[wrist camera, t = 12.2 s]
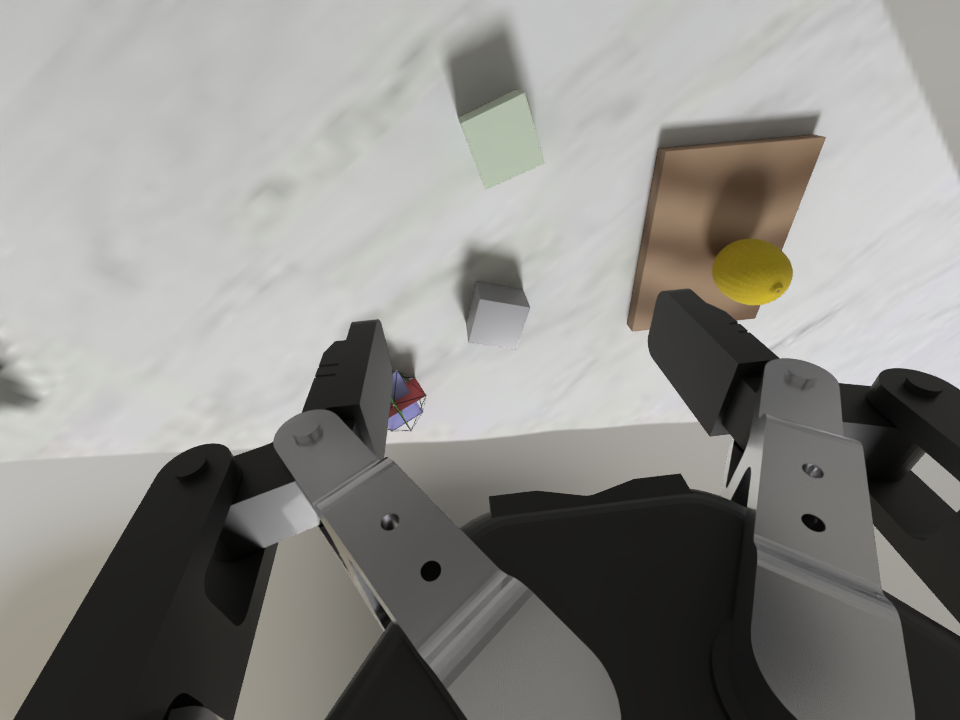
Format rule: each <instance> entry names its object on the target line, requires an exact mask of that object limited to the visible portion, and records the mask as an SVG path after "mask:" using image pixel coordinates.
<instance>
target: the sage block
mask: <svg viewBox="0 0 960 720" xmlns="http://www.w3.org/2000/svg"><path fill="white" fill-rule="evenodd" d="M458 119H459V122H460V124H461V127H462V130H463V132H464V135H465V137H466V140H467V143H468V145H469V148H470V151H471V153H472V156H473V158H474V161H475V164H476V166H477V169H478V172H479V174H480V177H481V179H482V182H483V184H484V187H485V190H487V189H489V188H491V187H493V186H496V185H498V184H500V183H502V182H504V181H507V180H509V179H511V178H513V177H515V176H518V175H520V174H522V173H524V172H527V171H529V170H531V169H533V168H535V167H538V166H540V165H542V164H544V163H545V162H544V158H543V155H542V151H541V148H540V144H539V141H538V137H537V134H536V130H535V126H534V123H533V119H532V116H531V112H530V109H529V105H528V102H527V98H526V95H525V92H522V91H519V90H517V89H516V90H514V91H512V92H510V93H508V94H505V95H503V96H501V97H499V98H497V99H495V100H493V101H491V102H489V103H487V104H485V105H483V106H481V107H479V108H477V109H475V110H473V111H471V112H469V113H466V114H464V115H462V116H460V117H458Z"/></svg>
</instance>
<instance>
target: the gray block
mask: <svg viewBox="0 0 960 720" xmlns="http://www.w3.org/2000/svg"><path fill="white" fill-rule="evenodd" d="M529 310H530V306H529V303H528V301H527V298H526V296H525V293H524V291H523V290H522V289H517V288H511V287H506V286H500V285H495V284H489V283H484V282H478V281H476V285H475V289H474V293H473V297H472V301H471V305H470V309H469V313H468V317H467V321H466V327H467V335H468V343H473V344H480V345H487V346H494V347H501V348H507V349H514V350H516V347H517V344H518V342H519V339H520V336H521V333H522V330H523V327H524V324H525V321H526V318H527V316H528V313H529Z"/></svg>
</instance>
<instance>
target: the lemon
mask: <svg viewBox="0 0 960 720" xmlns="http://www.w3.org/2000/svg"><path fill="white" fill-rule="evenodd" d="M712 276H713V280H714V282H715V284H716V286H717V287H718V288H719V290H720V291H721V292H722V293H723V294H724V295H726V296H727V297H729V298H730V299H732V300H734V301H736V302H739V303H742V304H746V305H762V304H766V303H769V302H772V301H774V300H776V299H777V298H779V297H780V296H781V295H782V294H783V293H784V292H785V291H786V290H787V289H788V287H789V285H790V283H791V280H792V276H793V269H792V266H791V263H790V261H789V259H788V258H787V256H786V255H785V254H784V253H783V252H782V251H781V250H780V249H779V248H778V247H776V246H775V245H773V244H771V243H769V242H767V241H764V240H760V239H752V238H749V239H741V240H738V241H735V242H733V243H731V244H729V245H727V246H726V247H725V248H723V249H722V250H721V251H720V252H719V254H718V255H717V256H716V258H715V260H714V263H713V266H712Z"/></svg>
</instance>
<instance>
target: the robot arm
mask: <svg viewBox="0 0 960 720" xmlns="http://www.w3.org/2000/svg"><path fill="white" fill-rule="evenodd" d="M648 348H649V352H650V355H651V357H652V358H653V360H654V361H655V362H656V364H657V365H658V366H659V368H660V369H661V370H662V372H663V373H664V375H665V376H666V377H667V379H668V380H669V381H670V383H671V384H672V386H673V387H674V388H675V390H676V391H677V392H678V394H679V395H680V396H681V398H682V399H683V401H684V402H685V403H686V405H687V406H688V407H689V409H690V410H691V411H692V413H693V414H694V416H695V417H696V418H697V420H698V421H699V422H700V424H701V425H702V427H703V428H704V429H705V431H706V432H707V433H708V435H709V436H718V435H727V434H730V435H731V436H732V437H733V440H732V442H731V444H730V447H729V451H728V456H727V461H726V467H725V472H724V478H723V483H722V488H721V493H720V496H718V495H715V494H712V493H708V492H704V491H699V490H695V489H689V487H688V485H687V484H686V482H685V480H684V479H683V477H682V475H681V474H673V475H665V476H656V477H648V478H640V479H633V480H631V481H628V482H625V483H623V484H620V485H617V486H615V487H612V488H610V489H607V490H605V491H602V492H599V493H597V494H594V495H590V496H581V495H572V494H563V493H562V494H561V493H553V492H544V491H530V492H522V493H514V494H506V495H498V496H490V497H489V504H490V512H487V513H485V514H482V515H480V516H478V517H476V518H474V519H473V520H471V521H469V522H468V523H466V524H465V525H463V526H462V527H461V528H459V527H458V526H457V525H456V524H455V523H454V522H453V521H452V520H451V519H450V518H449V517H448V516H447V515H446V514H445V513H444V512H443V511H442V510H441V509H440V508H439V507H438V506H437V505H436V504H435V503H434V502H433V501H432V500H431V499H430V498H429V497H428V496H427V495H426V494H425V493H424V491H423V490H422V489H421V488H420V487H418V485H417V484H416V483H415V482H414V481H413V480H412V479H411V478H410V477H408V475H407V474H406V473H405V472H404V471H403V470H402V469H401V468H400V467H399V466H398V465H397V464H396V463H395V462H394V461H393V460H392V459H390V458H388V457H386V458H384V453H385V444H386V436H387V428H388V419H389V411H390V403H391V395H392V386H393V374H392V366H391V361H390V357H389V353H388V349H387V345H386V341H385V337H384V332H383V328H382V325H381V322H380V320H379V319H377V320H367V321H358V322H352V323H351V326H350V329H349V332H348V336H347V339H346V340H344V341H335V342H334V343H333V344H332V345H331V346H330V347H329V348H328V349H327V350H326V351H325V352H324V353H323V356H322V359H321V362H320V364H319V368H318V370H317V372H316V375H315V376H316V378H314V381H313V383H312V386H311V389H310V391H309V394H308V397H307V400H306V402H305V405H304V408H303V411H302V413H300V414H298V415H296V416H294V417H292V418H291V419H289V420H288V421H286V422H285V423H284V424H283V425H282V426H281V427H280V428H279V429H278V431H277V433H276V434H275V437H274V441H273V442H272V443H270V444H267V445H265V446H262V447H259V448H256V449H253V450H251V451H248V452H245V453H242V454H239V455H236V456H233V455H232V453H231V452H230V450H229V449H228V448H227V447H226V446H224V445H221V444H204V445H200V446H197V447H194V448H191V449H189V450H187V451H185V452H183V453H181V454H179V455H178V456H176V457H175V458H173V459H172V460H171V461H169V462H168V463H167V464H166V465H165V466H164V467H163V468H162V469H161V470H160V472H159V473H158V474H157V476H156V478H155V479H154V481H153V483H152V484H151V487H150V488H149V489H148V491H147V493H146V495H145V496H144V498H143V500H142V501H141V503H140V505H139V507H138V508H137V510H136V512H135V513H134V515H133V517H132V518H131V520H130V522H129V524H128V525H127V527H126V529H125V530H124V532H123V534H122V536H121V537H120V539H119V541H118V542H117V544H116V546H115V547H114V549H113V551H112V552H111V554H110V556H109V558H108V559H107V561H106V563H105V565H104V566H103V568H102V570H101V571H100V573H99V575H98V576H97V578H96V580H95V582H94V583H93V585H92V587H91V588H90V590H89V592H88V594H87V595H86V597H85V599H84V600H83V602H82V604H81V605H80V607H79V609H78V610H77V612H76V614H75V616H74V617H73V619H72V621H71V622H70V624H69V626H68V628H67V629H66V631H65V633H64V634H63V636H62V638H61V639H60V641H59V643H58V644H57V646H56V648H55V650H54V651H53V653H52V655H51V656H50V658H49V660H48V662H47V663H46V665H45V667H44V668H43V670H42V672H41V673H40V675H39V677H38V679H37V680H36V682H35V684H34V685H33V687H32V689H31V690H30V692H29V694H28V696H27V697H26V699H25V701H24V702H23V704H22V706H21V707H20V709H19V711H18V713H17V714H16V716H15V718H14V719H13V720H233V719H234V715H235V711H236V707H237V703H238V699H239V695H240V691H241V687H242V683H243V680H244V676H245V671H246V667H247V664H248V660H249V656H250V652H251V648H252V644H253V640H254V636H255V632H256V628H257V624H258V620H259V617H260V613H261V609H262V604H263V600H264V597H265V593H266V589H267V585H268V581H269V577H270V573H271V569H272V565H273V561H274V557H275V553H276V550H277V546H278V542H279V541H282V540H284V539H286V538H289V537H291V536H294V535H296V534H298V533H301V532H303V531H306V530H308V529H310V528H313V527H315V526H317V527H318V529H319V531H320V532H321V533H322V535H323V537H324V538H325V540H326V541H327V542H328V544H329V545H330V547H331V549H332V550H333V552H334V553H335V555H336V556H337V558H338V559H339V561H340V562H341V564H342V565H343V567H344V569H345V570H346V572H347V573H348V575H349V576H350V578H351V579H352V581H353V582H354V584H355V586H356V587H357V589H358V590H359V592H360V594H361V596H362V597H363V599H364V601H365V602H366V604H367V606H368V607H369V609H370V610H371V612H372V614H373V615H374V617H375V618H376V620H377V621H378V623H379V625H380V626H381V627H382V629H383V631H384V632H383V634H382V635H381V637H380V638H379V640H378V641H377V643H376V644H375V646H374V647H373V649H372V650H371V652H370V653H369V654H368V656H367V657H366V659H365V660H364V662H363V663H362V665H361V666H360V668H359V669H358V671H357V672H356V674H355V675H354V677H353V678H352V680H351V681H350V683H349V684H348V686H347V687H346V689H345V690H344V692H343V693H342V694H341V696H340V697H339V699H338V700H337V702H336V703H335V705H334V706H333V708H332V709H331V711H330V712H329V714H328V715H327V717H326V718H325V720H960V636H958V635H957V634H955V633H953V632H952V631H950V630H948V629H947V628H945V627H943V626H942V625H940V624H938V623H937V622H935V621H934V620H932V619H930V618H928V617H927V616H925V615H924V614H922V613H920V612H918V611H917V610H915V609H914V608H912V607H910V606H909V605H907V604H905V603H903V602H902V601H900V600H898V599H897V598H895V597H894V596H892V595H890V594H889V593H887V592H885V591H884V590H882V588H881V581H880V574H879V566H878V558H877V551H876V543H875V536H874V528H873V524H874V526H875V527H876V528H877V529H878V530H879V531H880V533H881V534H882V535H883V536H884V537H885V538H886V539H887V540H888V542H889V543H890V544H891V545H892V546H893V547H894V549H895V550H896V551H897V552H898V553H899V554H900V555H901V557H902V558H903V559H904V560H905V561H906V562H907V563H908V564H909V566H910V567H911V568H912V569H913V570H914V571H915V573H916V574H917V575H918V576H919V577H920V578H921V579H922V581H923V582H924V583H925V584H926V585H927V586H928V588H929V589H930V590H931V591H932V592H933V593H934V594H935V596H936V597H937V598H938V599H939V600H940V601H941V602H942V603H943V605H944V606H945V607H946V608H947V609H948V610H949V612H950V613H951V614H952V615H953V616H954V617H955V618H956V619H957V621H958V622H959V623H960V510H959V511H958V512H957V513H956V512H955V511H954V510H953V509H952V508H951V507H950V506H949V505H948V504H947V503H946V502H944V501H943V500H942V499H941V498H940V497H939V496H938V495H937V494H936V493H935V492H934V491H932V489H930V488H929V487H928V486H927V485H926V484H925V483H924V482H923V481H922V480H921V479H920V478H919V477H918V476H917V475H915V474H914V473H913V472H912V471H911V469H912V467H913V466H914V465H915V464H916V463H917V462H918V461H919V459H920V458H921V457H922V456H923V455H924V454H925V453H927V454H929V455H930V456H931V457H932V458H933V459H934V460H936V461H937V462H938V463H939V464H940V465H941V466H943V467H944V468H945V469H946V470H947V471H948V472H949V473H951V474H952V475H953V476H954V477H955V478H956V479H957V480H959V482H960V390H959V389H958V388H956V387H955V386H953V385H951V384H950V383H948V382H946V381H944V380H942V379H940V378H938V377H935V376H933V375H930V374H927V373H924V372H920V371H916V370H910V369H902V368H892V369H887V370H884V371H882V372H881V373H880V374H879V375H878V377H877V378H876V380H875V381H874V383H873V384H872V386H863V385H853V384H843V383H838V381H837V379H836V378H835V377H834V376H833V375H832V374H830V373H829V372H828V371H826V370H825V369H823V368H821V367H819V366H817V365H815V364H812V363H809V362H806V361H802V360H797V359H789V358H782V359H780V358H779V357H778V356H776V355H775V354H774V353H773V352H772V351H771V350H769V349H768V348H767V347H766V346H765V345H764V344H763V343H761V342H760V341H759V340H758V339H757V338H756V337H754V336H753V335H752V334H751V333H747V330H746V329H745V328H744V327H743V326H742V325H741V324H738V323H737V321H736V320H735V319H734V318H733V317H731V316H730V315H729V314H728V313H727V312H726V311H723V310H721V309H719V308H717V307H715V306H713V305H711V304H709V303H706V302H705V301H704V300H702V299H701V298H700V297H699V296H698V295H697V294H696V293H695V292H694V291H692V290H691V289H689V288H686V289H676V290H667V291H661V292H660V293H659V294H658V296H657V299H656V303H655V308H654V312H653V317H652V322H651V326H650V331H649V335H648Z"/></svg>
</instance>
